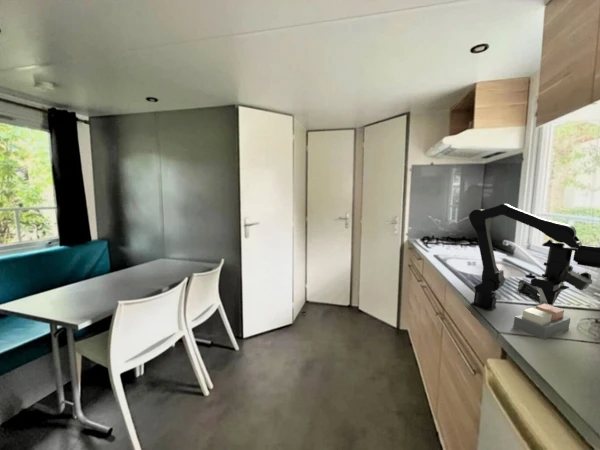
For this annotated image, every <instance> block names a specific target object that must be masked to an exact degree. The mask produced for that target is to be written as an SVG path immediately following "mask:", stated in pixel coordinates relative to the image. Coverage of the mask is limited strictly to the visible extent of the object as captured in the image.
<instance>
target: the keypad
mask: <svg viewBox="0 0 600 450" xmlns="http://www.w3.org/2000/svg"><path fill="white" fill-rule="evenodd" d="M522 316H523V313H521V314H518V315H515V316H514V320H513V326H512V327H513V328H514V329H517V330H519V331H521V332H524V333H526V334H529V335H530V336H532V337H536V338H538V339H540V340H542V341H545V340H547V339H549V338H552V337H553V336H554V337H555V335H559V334H561V333H563V332H565V331H567V330H569V328H570V323H571V317H569V316H565V315H563V318H561V319H559V320H556V321H555V320H553V319H551V323H549V324H546V325H544V326H542V325H540V324H537V323H534V322H532V321H529V320H527V319H524V318H522Z"/></svg>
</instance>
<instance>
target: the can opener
mask: <svg viewBox="0 0 600 450" xmlns="http://www.w3.org/2000/svg"><path fill="white" fill-rule="evenodd" d="M530 284H531V282H529V281H526V280H525V279H522V280H519V281H518V285H517V286H518V287H517V290H518V291H519V292H521V293H524V294H529V295H531V296H532V297H533V298H534V299H536V300H537V301H538V302H540V294H539V292H538V290H537V287H535V286H531V285H530Z"/></svg>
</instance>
